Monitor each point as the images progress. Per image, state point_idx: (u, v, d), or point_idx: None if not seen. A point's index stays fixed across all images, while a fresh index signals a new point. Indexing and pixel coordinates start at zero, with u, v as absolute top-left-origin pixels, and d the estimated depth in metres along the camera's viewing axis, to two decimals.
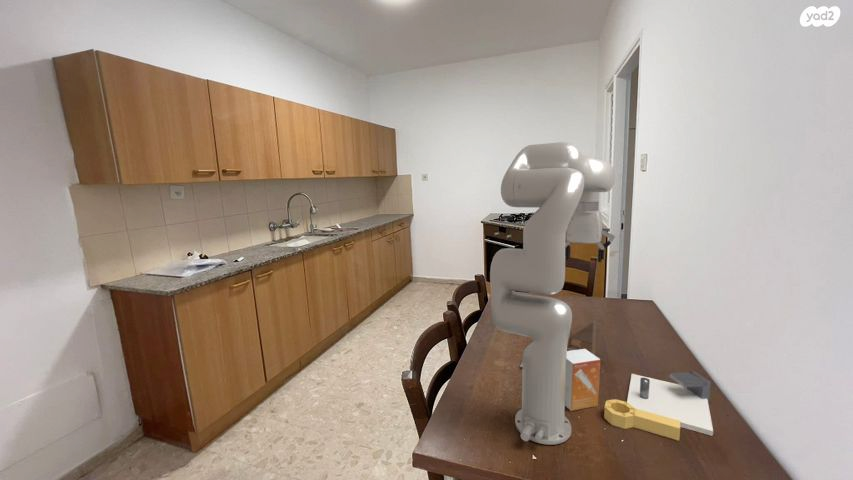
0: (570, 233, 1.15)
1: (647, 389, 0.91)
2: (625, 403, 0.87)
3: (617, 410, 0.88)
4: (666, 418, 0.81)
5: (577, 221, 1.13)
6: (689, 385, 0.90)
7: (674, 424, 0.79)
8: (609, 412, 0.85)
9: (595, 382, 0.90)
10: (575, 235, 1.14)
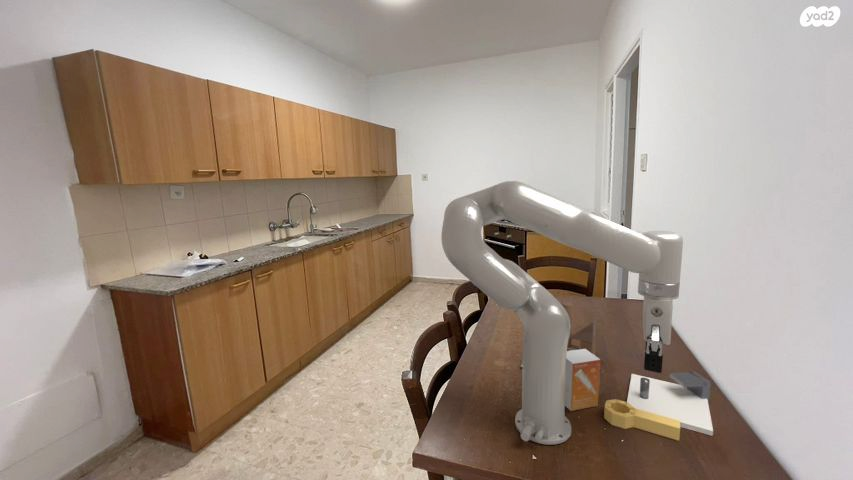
0: (670, 332, 0.75)
1: (647, 389, 0.91)
2: (625, 403, 0.87)
3: (617, 410, 0.88)
4: (666, 418, 0.81)
5: None
6: (689, 385, 0.90)
7: (674, 424, 0.79)
8: (609, 412, 0.85)
9: (595, 382, 0.90)
10: None
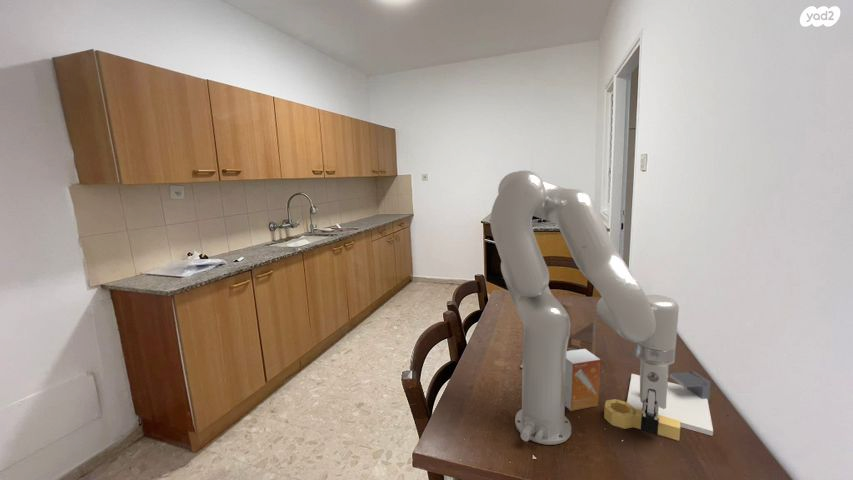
0: (666, 396, 0.77)
1: None
2: (625, 403, 0.87)
3: (617, 410, 0.88)
4: (666, 418, 0.81)
5: None
6: (689, 385, 0.90)
7: (674, 424, 0.79)
8: (609, 412, 0.85)
9: (595, 382, 0.90)
10: None
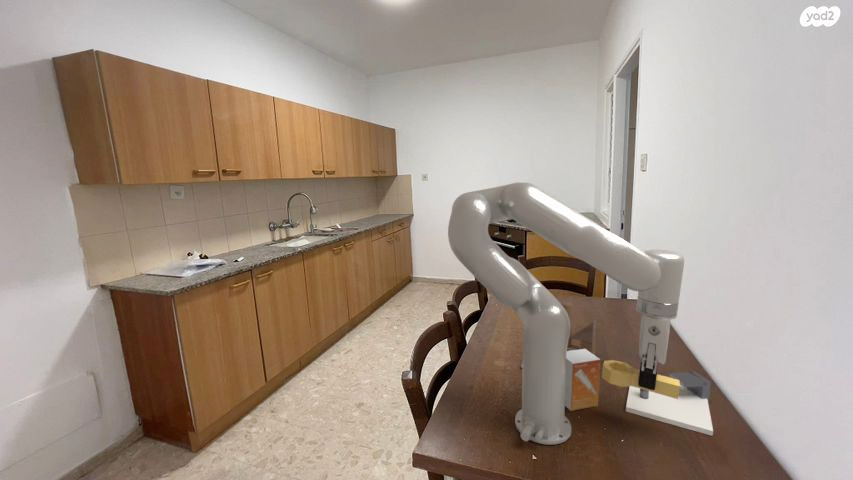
0: (666, 351, 0.75)
1: None
2: (624, 363, 0.86)
3: None
4: (665, 377, 0.80)
5: (669, 330, 0.76)
6: (689, 385, 0.90)
7: (674, 382, 0.78)
8: (607, 370, 0.83)
9: (595, 382, 0.90)
10: None
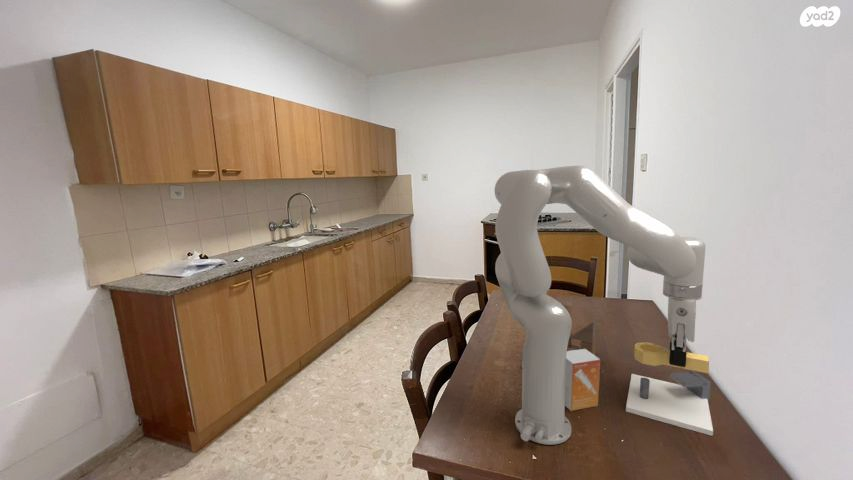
0: (694, 330, 0.81)
1: (647, 389, 0.91)
2: (654, 344, 0.92)
3: None
4: (694, 354, 0.86)
5: None
6: (689, 385, 0.90)
7: (703, 358, 0.84)
8: (639, 352, 0.89)
9: (595, 382, 0.90)
10: None
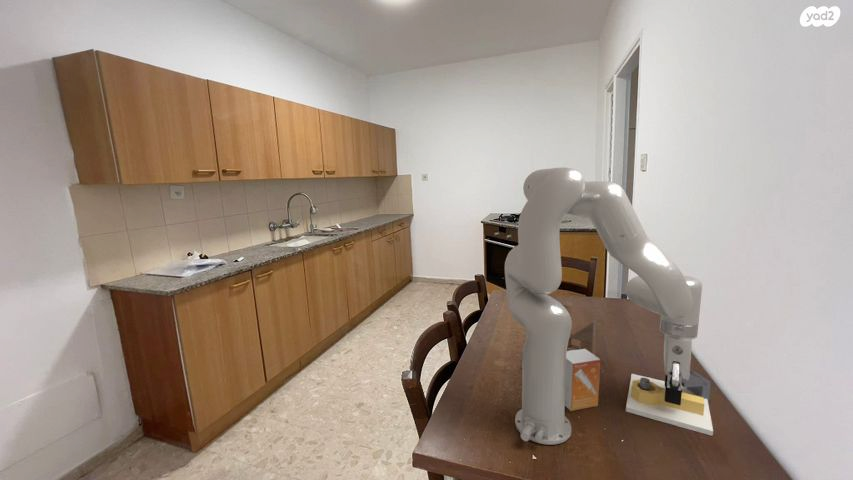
0: (689, 368, 0.83)
1: (647, 389, 0.91)
2: (650, 383, 0.93)
3: None
4: (690, 395, 0.87)
5: None
6: (689, 385, 0.90)
7: (698, 400, 0.86)
8: (636, 390, 0.91)
9: (595, 382, 0.90)
10: None
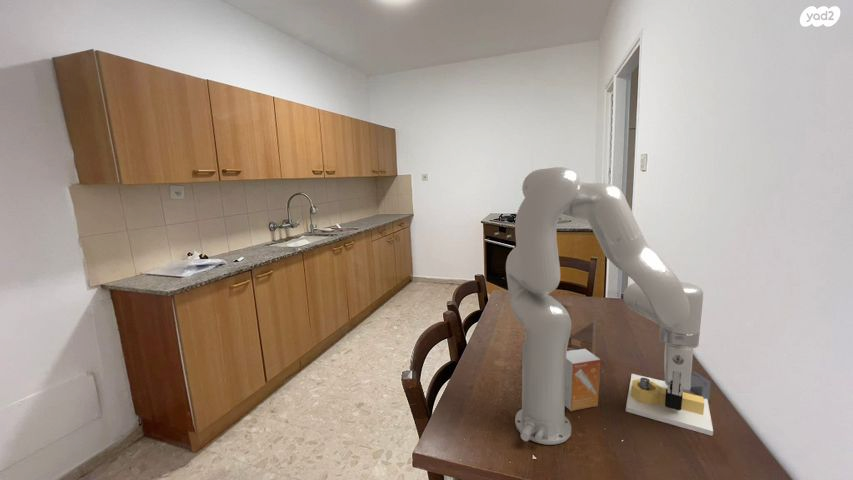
0: (690, 378, 0.80)
1: (647, 389, 0.91)
2: (650, 382, 0.93)
3: None
4: (690, 395, 0.88)
5: (692, 358, 0.81)
6: None
7: (698, 399, 0.86)
8: (636, 390, 0.91)
9: (595, 382, 0.90)
10: None
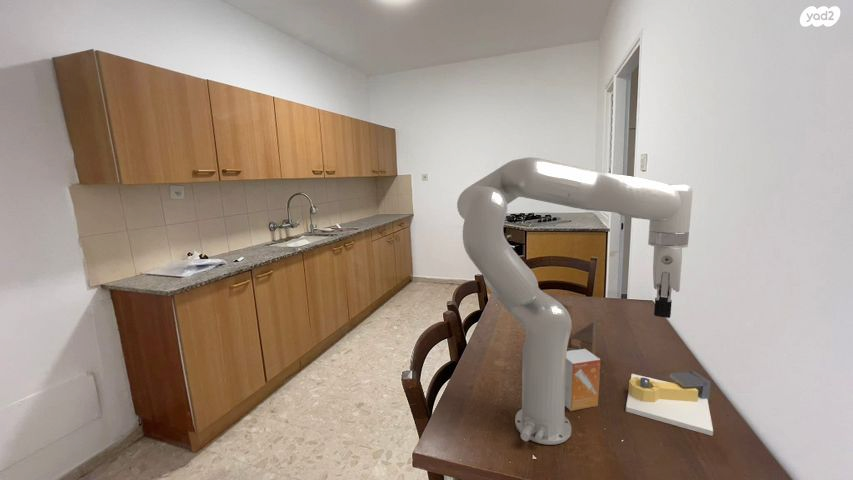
0: None
1: None
2: None
3: None
4: None
5: (681, 259, 0.79)
6: (689, 385, 0.90)
7: (691, 388, 0.90)
8: (639, 390, 0.91)
9: (595, 382, 0.90)
10: None
